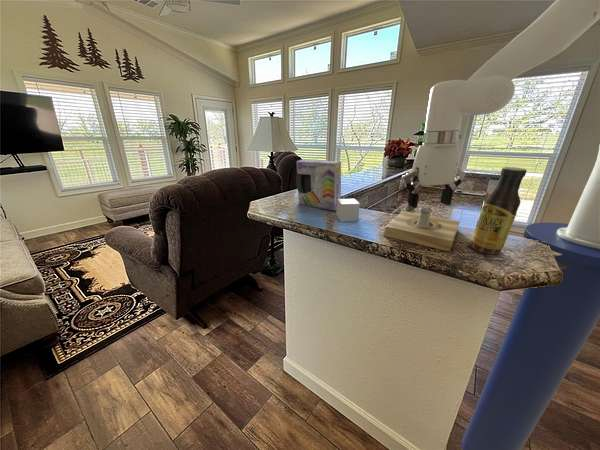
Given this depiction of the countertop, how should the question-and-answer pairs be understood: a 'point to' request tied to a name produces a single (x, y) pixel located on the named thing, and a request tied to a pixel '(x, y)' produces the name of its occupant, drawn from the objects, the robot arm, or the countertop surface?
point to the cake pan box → (319, 183)
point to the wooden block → (423, 230)
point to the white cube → (348, 209)
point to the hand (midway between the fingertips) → (428, 205)
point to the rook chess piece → (424, 216)
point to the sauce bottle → (498, 212)
